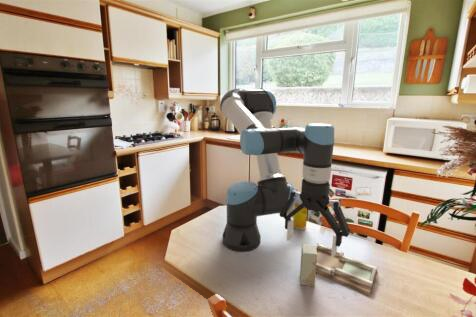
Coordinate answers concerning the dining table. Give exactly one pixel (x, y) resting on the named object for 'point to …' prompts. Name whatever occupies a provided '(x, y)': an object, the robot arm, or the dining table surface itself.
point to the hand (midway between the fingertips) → (310, 246)
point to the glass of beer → (299, 215)
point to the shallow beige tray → (345, 269)
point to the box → (308, 265)
